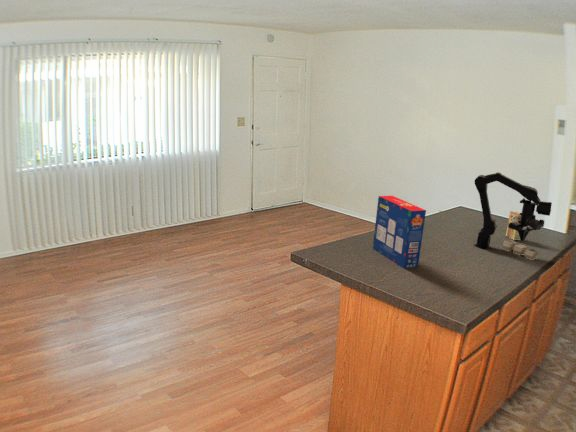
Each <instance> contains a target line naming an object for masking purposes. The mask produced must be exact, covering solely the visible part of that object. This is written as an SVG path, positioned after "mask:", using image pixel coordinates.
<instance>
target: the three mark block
mask: <svg viewBox="0 0 576 432" xmlns="http://www.w3.org/2000/svg"><path fill="white" fill-rule="evenodd" d="M539 253H540V251H539V250H537V249H533V248H527V249H526V250H525V255H523V257H524V256H526V257H528V258H531V259H533V258H539Z"/></svg>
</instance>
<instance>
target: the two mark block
mask: <svg viewBox="0 0 576 432" xmlns="http://www.w3.org/2000/svg"><path fill="white" fill-rule="evenodd" d="M514 245H517V242H516V241H513V240H511V239H510V240H503V244H502V248H504V249H506V250H509V251H508V252H511V251H510V250H514ZM504 249H503V250H504ZM506 250H505V251H506Z"/></svg>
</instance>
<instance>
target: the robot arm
mask: <svg viewBox="0 0 576 432" xmlns="http://www.w3.org/2000/svg"><path fill="white" fill-rule="evenodd" d="M494 182H499V183H500V184H502V185H504V186H506V187H508V188H511V190H513V191H515V192H518V194H520V196H522V197H523V198H522V199H520V200H519V204H522V209H521V212H519V213H520V214H519V215H521V219H520V220H519V221H518V223H516V222H512V223H509V225H508V224H507V226H508V228H511V229H514V230H517V231H518V233H519V236H520V241H521V242H524V241H525V240H526V238H527V236H528V235H529V233H530V232H532V231H539V230H541V229H542V228H543V227H544V226H545V220H544V219H537V218H536V215H535V212H536V214H538V215H543V216H548V217H549V216H551V212H552V205H553V203H552V201H541V199H540V198H539V194H538V193H539V192H538V190H537V188H536V187H532V186H529V185H524V184H522V183H519V182H517V181H516V180H514V179H512V178H510V177H508V176H506V175H505V174H502V173H501V172H495V173H491V174H486V175H484V174H479V175H477V177H476V178H475V179H474V185H475V188H476V190H477V192H478V195H479V199H480V205H481V210H482V211H481V212H482V216H483V224H482V226H483V227H482V228H481V229H480V230H479V232H478V233H477V234H478V235H477V238H476V239H477V240H476V243H474V244H473V246H475V247H478V248H479V249H481V250H487V249H491V248H492V247H491V246H490V243H491V236H492V235H494V234H495V231H496V229H497V227H498V225H497V218H495V219H493V217H492V212H491V206H490V201H489V195H488V194H489V193H488V184H491V183H494ZM535 208H536V209H535ZM519 223H520V224H519Z"/></svg>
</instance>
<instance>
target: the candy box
mask: <svg viewBox="0 0 576 432" xmlns="http://www.w3.org/2000/svg"><path fill="white" fill-rule="evenodd" d="M520 213H521V212H517V211H513V210H511V211H509V214H508V220H507V226H506V230H505V231H506V233H505V237H506V236H508V237H509V238H508V237H507V238H508V239H510V238H511V239H513V240H520V241H521V239H520V236H519V233H518V231H517V230H514V229H511V228H508V225H509V223H512V222H516V223H518V221H519V220H520V219H521V215H519V214H520ZM519 224H520V223H519ZM511 239H510V240H511ZM513 240H512V241H513Z"/></svg>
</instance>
